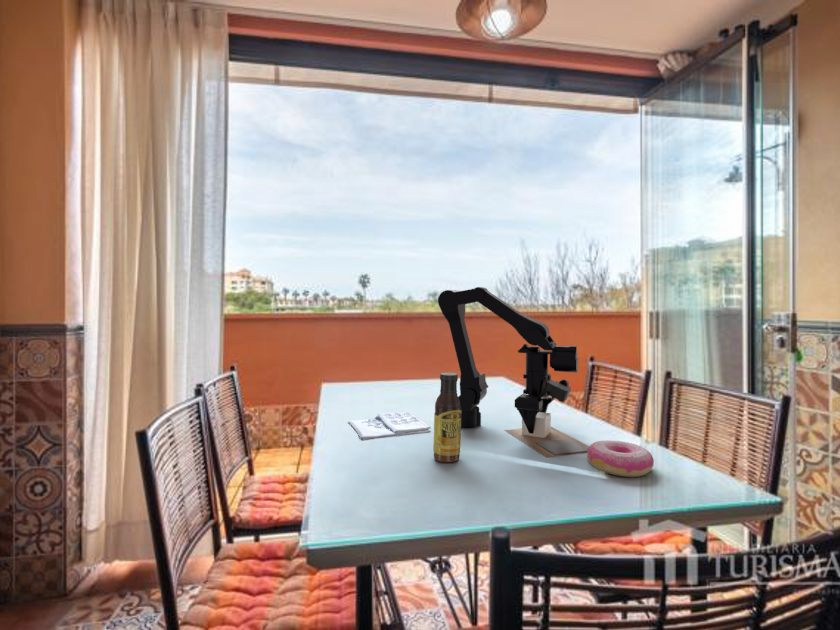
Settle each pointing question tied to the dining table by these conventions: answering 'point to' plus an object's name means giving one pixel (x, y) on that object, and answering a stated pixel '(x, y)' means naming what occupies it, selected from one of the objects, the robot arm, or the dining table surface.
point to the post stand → (551, 443)
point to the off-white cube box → (539, 425)
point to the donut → (620, 458)
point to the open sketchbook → (389, 425)
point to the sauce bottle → (447, 420)
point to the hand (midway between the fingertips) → (536, 428)
